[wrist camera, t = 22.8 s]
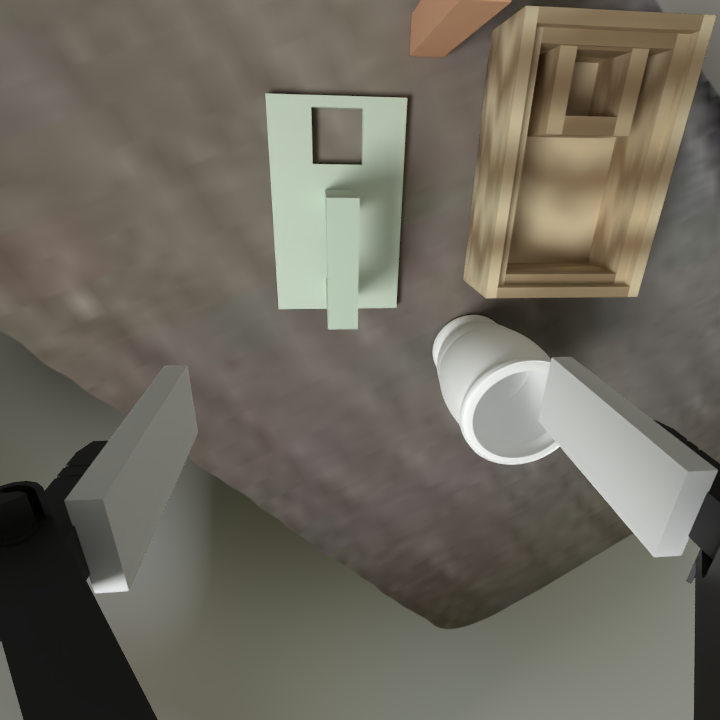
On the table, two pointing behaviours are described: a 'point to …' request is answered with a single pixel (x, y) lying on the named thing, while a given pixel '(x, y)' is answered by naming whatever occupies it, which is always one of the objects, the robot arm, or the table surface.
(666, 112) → the wooden box
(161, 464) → the robot arm
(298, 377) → the table surface
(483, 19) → the key peg
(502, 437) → the jar
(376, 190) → the lid
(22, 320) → the table surface
